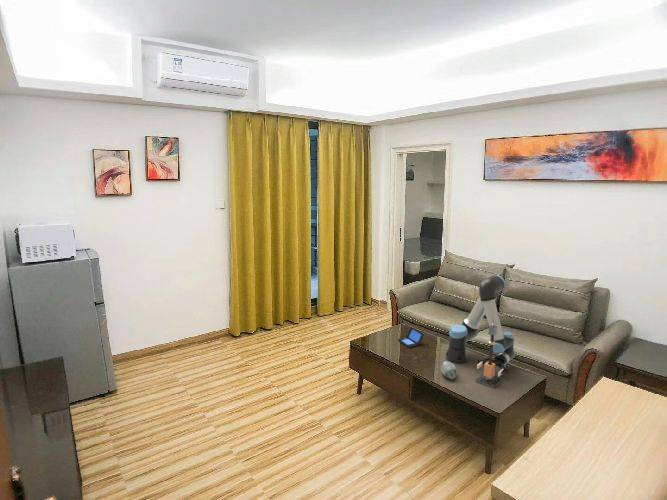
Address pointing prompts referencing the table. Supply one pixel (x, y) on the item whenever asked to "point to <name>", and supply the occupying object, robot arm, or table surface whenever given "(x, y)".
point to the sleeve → (489, 370)
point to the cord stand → (490, 361)
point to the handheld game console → (412, 338)
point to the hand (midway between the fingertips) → (487, 370)
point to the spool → (448, 370)
